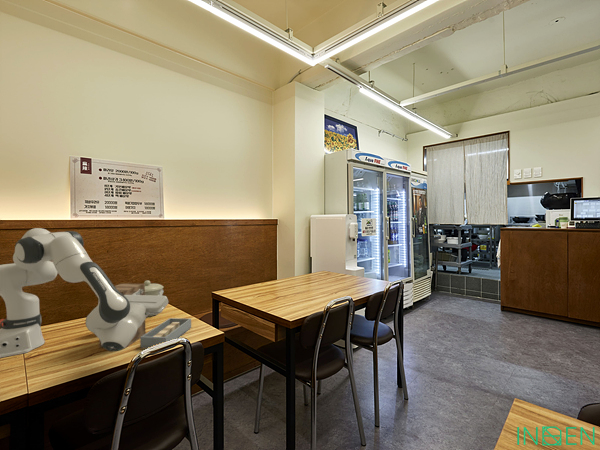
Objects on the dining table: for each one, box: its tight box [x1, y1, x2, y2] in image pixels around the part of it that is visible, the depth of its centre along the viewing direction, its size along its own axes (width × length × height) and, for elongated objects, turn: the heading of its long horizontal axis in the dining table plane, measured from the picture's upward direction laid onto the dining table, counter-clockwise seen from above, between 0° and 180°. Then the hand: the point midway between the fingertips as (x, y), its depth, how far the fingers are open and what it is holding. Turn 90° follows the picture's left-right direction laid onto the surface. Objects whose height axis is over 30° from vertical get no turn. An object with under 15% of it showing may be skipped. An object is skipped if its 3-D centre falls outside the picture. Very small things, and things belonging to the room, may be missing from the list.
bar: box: [153, 322, 179, 337], centre depth 146 cm, size 20×4×4 cm, turn 177°
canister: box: [143, 280, 164, 318], centre depth 182 cm, size 18×18×21 cm
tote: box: [139, 317, 192, 349], centre depth 147 cm, size 26×12×5 cm, turn 175°
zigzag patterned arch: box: [97, 283, 147, 350], centre depth 143 cm, size 16×12×26 cm
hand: (151, 290), depth 134 cm, fingers open, 8 cm apart
